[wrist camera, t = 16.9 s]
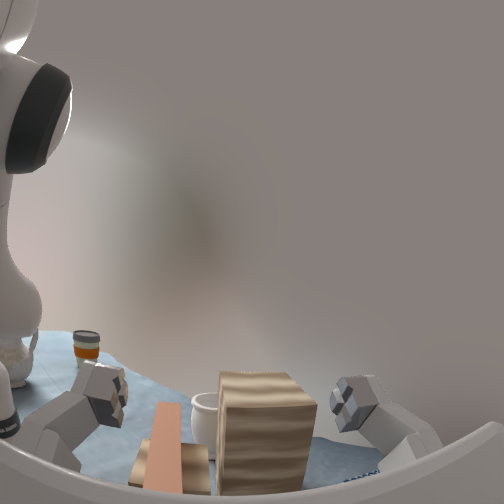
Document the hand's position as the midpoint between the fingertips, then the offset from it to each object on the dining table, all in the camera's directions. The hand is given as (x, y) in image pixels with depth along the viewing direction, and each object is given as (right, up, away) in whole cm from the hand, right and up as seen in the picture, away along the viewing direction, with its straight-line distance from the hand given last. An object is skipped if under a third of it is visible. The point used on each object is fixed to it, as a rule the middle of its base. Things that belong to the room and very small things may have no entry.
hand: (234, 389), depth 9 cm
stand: (0, -41, +27) cm, 49 cm away
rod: (-11, -23, +18) cm, 31 cm away
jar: (-9, -43, +45) cm, 63 cm away
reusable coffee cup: (-70, -44, +89) cm, 122 cm away
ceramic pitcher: (-79, -39, +50) cm, 101 cm away
